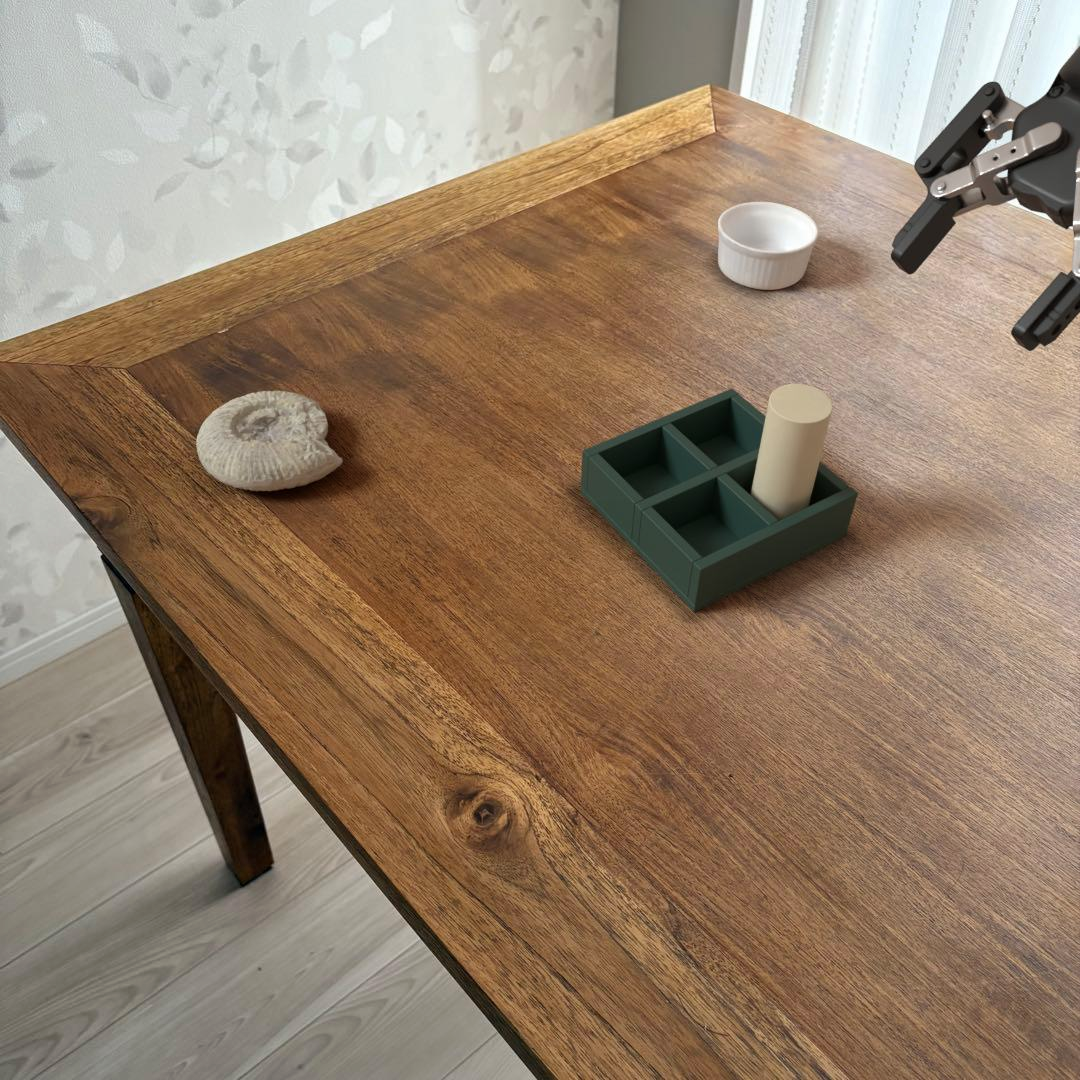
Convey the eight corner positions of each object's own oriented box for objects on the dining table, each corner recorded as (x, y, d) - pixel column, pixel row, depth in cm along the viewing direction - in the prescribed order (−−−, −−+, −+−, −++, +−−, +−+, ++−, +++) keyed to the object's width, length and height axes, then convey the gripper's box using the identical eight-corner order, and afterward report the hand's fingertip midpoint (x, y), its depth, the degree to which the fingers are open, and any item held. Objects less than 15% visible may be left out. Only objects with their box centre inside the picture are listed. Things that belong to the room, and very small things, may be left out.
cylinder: (817, 521, 77) (846, 409, 70) (772, 543, 76) (798, 430, 69) (779, 488, 80) (803, 376, 73) (735, 508, 78) (756, 396, 71)
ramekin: (762, 233, 106) (769, 191, 103) (830, 274, 101) (840, 232, 98) (692, 261, 102) (697, 219, 99) (759, 306, 97) (766, 262, 94)
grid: (846, 535, 77) (858, 492, 75) (693, 612, 72) (700, 570, 70) (725, 430, 85) (732, 387, 82) (580, 493, 80) (582, 450, 77)
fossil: (365, 420, 80) (252, 499, 75) (374, 456, 82) (266, 534, 78) (272, 352, 85) (162, 423, 81) (284, 388, 88) (178, 458, 84)
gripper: (1048, -49, 57) (838, 213, 61) (1311, 44, 48) (1047, 343, 52) (1080, 37, 63) (886, 272, 66) (1320, 134, 54) (1082, 397, 58)
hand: (957, 303), depth 59 cm, fingers open, 8 cm apart
